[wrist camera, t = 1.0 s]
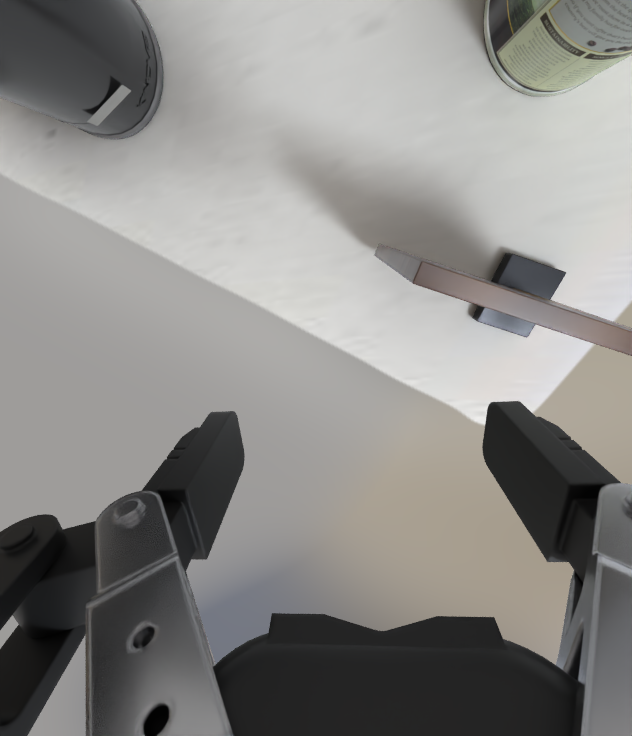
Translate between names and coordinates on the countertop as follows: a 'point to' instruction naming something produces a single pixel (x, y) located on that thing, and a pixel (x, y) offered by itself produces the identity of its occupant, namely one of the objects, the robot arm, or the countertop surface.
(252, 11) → the countertop surface
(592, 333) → the door
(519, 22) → the coffee can
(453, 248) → the countertop surface
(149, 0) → the countertop surface
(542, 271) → the hinge post
